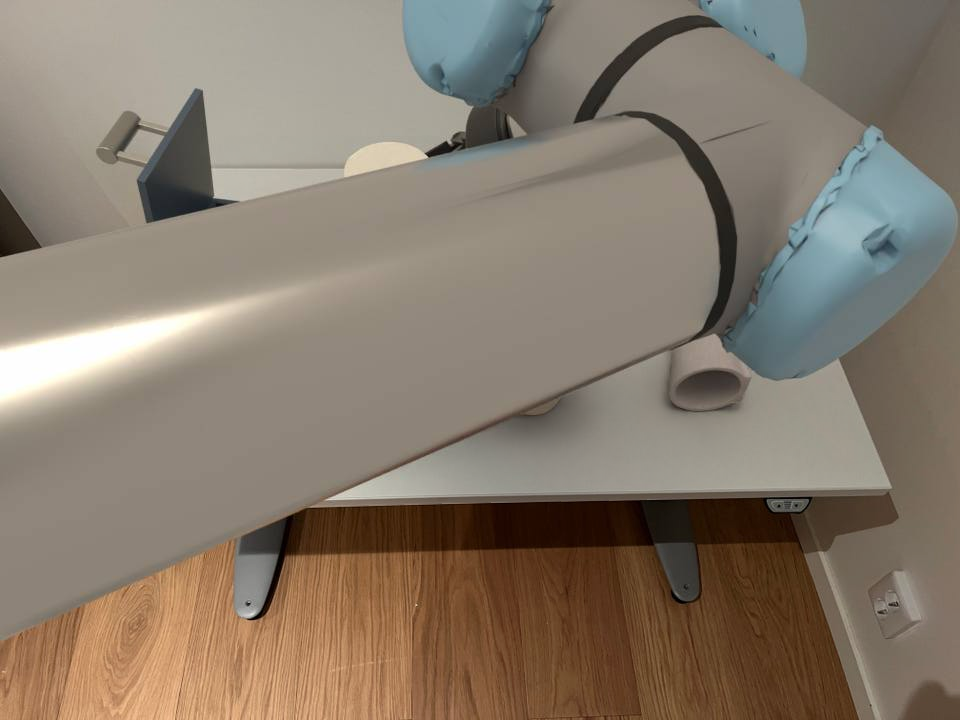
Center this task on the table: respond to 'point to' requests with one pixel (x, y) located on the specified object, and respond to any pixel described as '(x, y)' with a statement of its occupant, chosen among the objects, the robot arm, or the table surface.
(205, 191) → the box lid
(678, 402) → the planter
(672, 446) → the table surface
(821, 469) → the table surface
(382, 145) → the beige canister
